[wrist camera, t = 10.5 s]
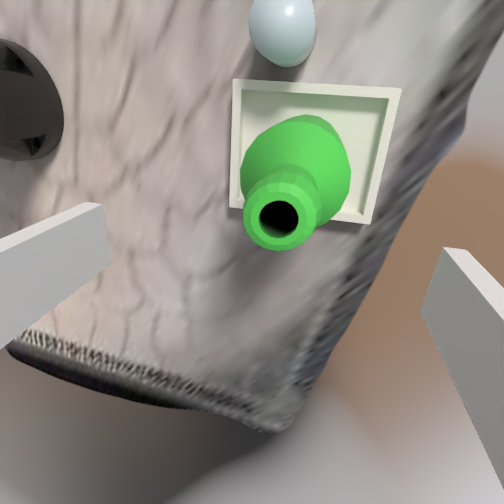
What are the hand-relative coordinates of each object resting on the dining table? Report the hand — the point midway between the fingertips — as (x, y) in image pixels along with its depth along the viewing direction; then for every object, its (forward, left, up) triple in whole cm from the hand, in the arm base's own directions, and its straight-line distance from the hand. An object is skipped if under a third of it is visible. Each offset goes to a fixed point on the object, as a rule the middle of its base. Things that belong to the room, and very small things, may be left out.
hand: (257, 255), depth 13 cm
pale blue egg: (-3, +12, -31) cm, 33 cm away
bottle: (0, 0, -30) cm, 30 cm away
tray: (0, 0, -31) cm, 31 cm away
